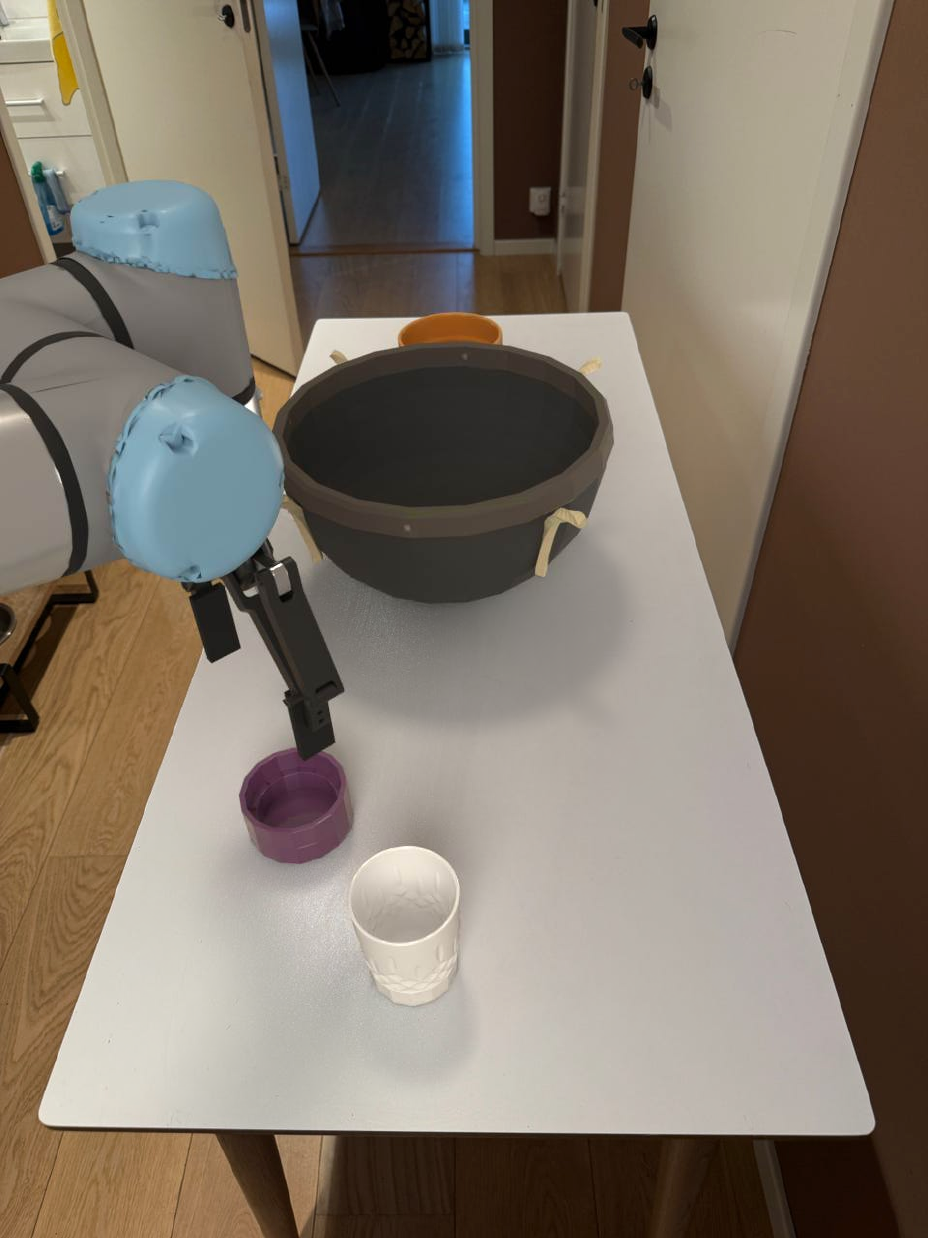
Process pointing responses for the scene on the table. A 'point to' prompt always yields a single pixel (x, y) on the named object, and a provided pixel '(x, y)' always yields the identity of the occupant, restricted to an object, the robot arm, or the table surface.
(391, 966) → the white cup
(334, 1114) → the table surface
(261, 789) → the plum dish
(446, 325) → the flower pot
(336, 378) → the bowl
